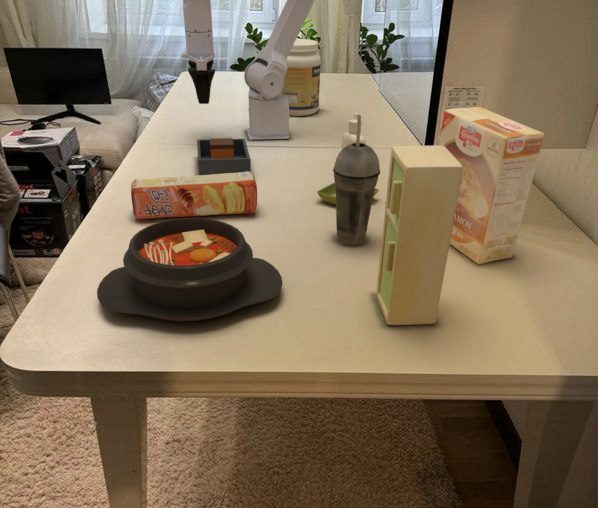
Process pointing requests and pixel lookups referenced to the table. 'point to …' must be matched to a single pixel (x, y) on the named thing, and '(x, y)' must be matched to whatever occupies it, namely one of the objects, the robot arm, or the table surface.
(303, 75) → the supplement tub
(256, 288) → the casserole
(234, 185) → the snack package
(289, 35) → the robot arm
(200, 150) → the bin
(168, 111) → the table surface
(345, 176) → the beverage cup
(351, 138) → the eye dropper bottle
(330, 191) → the saucer
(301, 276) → the table surface
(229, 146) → the orange rectangular block
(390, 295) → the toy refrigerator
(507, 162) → the coffeecake box
